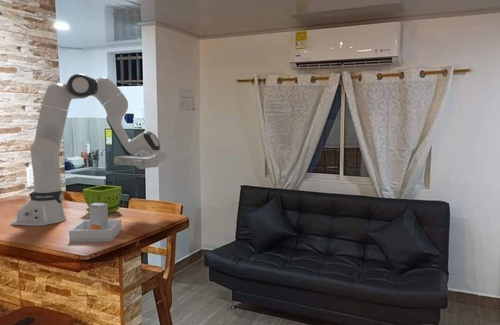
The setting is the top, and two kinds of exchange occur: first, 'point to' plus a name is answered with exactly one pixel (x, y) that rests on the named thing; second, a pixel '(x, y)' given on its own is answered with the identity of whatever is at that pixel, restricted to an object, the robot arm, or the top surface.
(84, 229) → the grey square tray
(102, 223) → the skincare box
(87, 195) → the flower pot
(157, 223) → the top surface
